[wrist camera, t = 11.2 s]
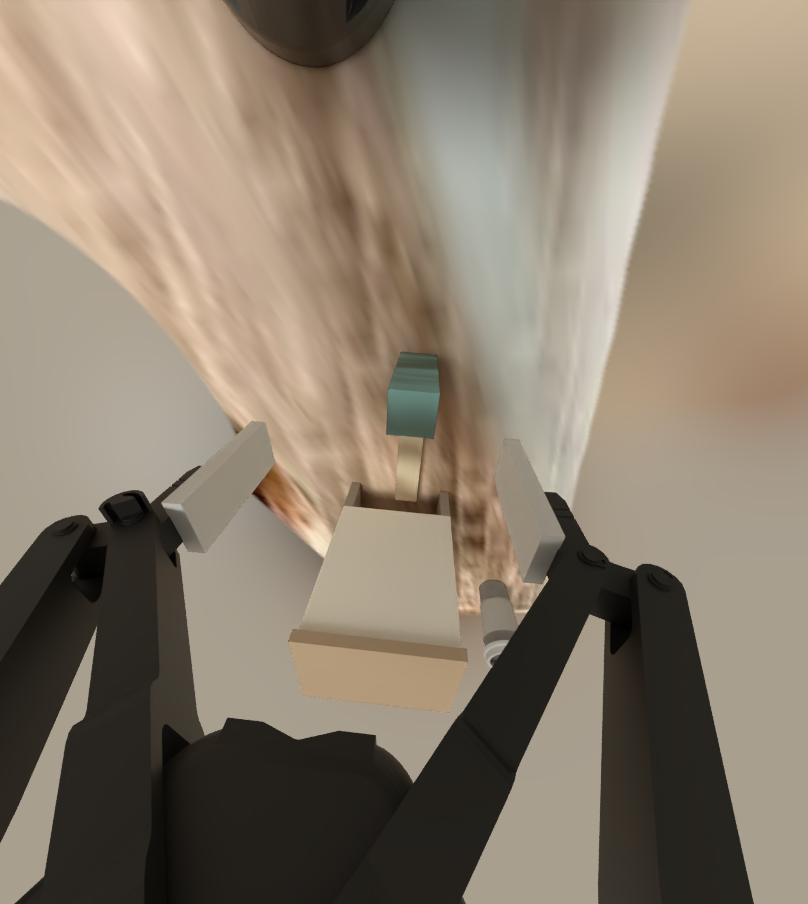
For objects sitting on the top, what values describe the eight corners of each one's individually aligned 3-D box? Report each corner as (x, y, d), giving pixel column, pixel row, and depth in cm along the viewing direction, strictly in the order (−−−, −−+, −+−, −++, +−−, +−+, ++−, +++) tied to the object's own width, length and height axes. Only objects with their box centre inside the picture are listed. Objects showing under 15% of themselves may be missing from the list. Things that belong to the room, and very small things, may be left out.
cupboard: (349, 479, 43) (287, 641, 24) (451, 489, 43) (468, 662, 24) (351, 532, 49) (303, 695, 30) (441, 541, 48) (448, 713, 30)
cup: (511, 599, 55) (529, 674, 45) (474, 600, 56) (484, 673, 46) (512, 574, 51) (532, 650, 41) (472, 576, 52) (483, 650, 42)
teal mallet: (401, 351, 33) (388, 388, 23) (436, 354, 33) (439, 393, 23) (392, 491, 44) (381, 559, 33) (420, 494, 44) (416, 562, 33)
